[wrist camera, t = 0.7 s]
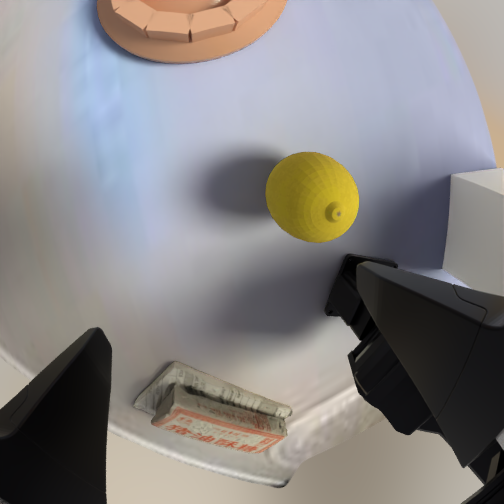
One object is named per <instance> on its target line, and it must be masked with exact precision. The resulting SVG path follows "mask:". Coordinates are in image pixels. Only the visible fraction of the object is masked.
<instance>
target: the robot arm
mask: <svg viewBox="0 0 504 504" xmlns="http://www.w3.org/2000/svg"><path fill="white" fill-rule="evenodd" d="M351 258H352V259H351ZM350 259H351V261H349V260H350ZM397 268H398V265H397V263H395V262H394V261H388V260H383V259H377V258H371V257H365V256H360V255H354V254H348V255H347V256H346V257H345V259H344V262H343V264H342V267H341V270H340V272H339V275H338V277H337V279H336V281H335V284H334V286H333V289H332V291H331V294H330V296H329V300H328V302H327V305H326V307H325V310H324V312H325V314H326V315H327V316H339V317H341V318H342V319H343V321H344V322H345V324H346V325H347V326H350V327H351V329H352V330H353V332H354V333H355V335H356V336H357V337H358V339H359V340H360V341H361V342H360V343H359V345H358V346H357V347H356V348H355V349H354V350H353V351H351V352H350V353H349V354H348V359H349V363H350V366H351V370H352V373H353V377H354V380H355V384H356V387H357V390H358V393H359V394H360V395H361V396H362V397H363V398H364V400H365V401H367V402H368V403H369V404H371V405H372V406H374V407H375V408H378V409H379V410H380V411H381V412H382V413H383V414H384V416H385V417H386V418H387V419H388V420H389V422H390V423H391V425H392V426H393V427H394V429H395V430H396V431H398V432H400V433H403V434H405V435H411V434H412V433H413V432H414V431H415V430H420V431H425V432H430V433H435V434H439V435H440V436H441V437H442V438H443V439H444V440H445V441H446V442H447V443H448V444H449V445H450V446H451V447H452V449H453V451H454V453H455V455H456V456H457V459H458V461H459V462H460V464H461V466H462V467H463V468H465V467H466V466H468V467H469V468H470V469H471V470H472V471H473V472H474V474H475V475H476V476H477V477H478V478H479V479H480V481H481V482H482V483H483V484H484V486H483V487H482V488H481V489H479V490H478V491H477V492H475V493H474V494H473V495H472V496H470V497H469V498H468V499H466V500H465V501H463V502H462V503H461V504H504V296H500V295H495V294H490V293H486V292H482V291H477V290H473V289H469V288H465V287H462V286H458V285H455V284H453V285H452V284H451V283H447V282H444V281H440V280H437V279H433V278H429V277H426V276H422V275H418V274H415V273H411V272H407V271H404V270H400V269H397ZM329 310H331V311H329ZM328 311H329V312H328ZM111 369H112V347H111V344H110V343H109V341H108V339H107V338H106V336H105V334H104V332H103V331H102V329H101V328H99V327H96V328H90V329H88V330H87V331H86V332H85V333H84V334H83V335H82V336H80V337H79V338H78V339H77V340H76V341H75V342H74V343H72V344H71V345H70V346H69V347H68V348H67V349H66V350H65V351H63V352H62V353H61V354H60V355H59V356H58V357H57V358H56V359H55V360H53V361H52V362H51V363H50V364H49V365H48V366H47V367H46V368H45V369H44V370H43V371H41V372H40V373H39V374H38V375H37V376H36V377H35V378H34V379H33V380H32V381H31V382H30V383H29V385H26V386H25V388H23V389H22V390H21V391H20V392H19V393H18V394H17V395H16V396H15V397H14V398H13V399H11V400H10V401H9V402H8V403H7V404H6V405H5V406H4V407H2V408H1V409H0V504H107V499H106V445H107V427H108V414H109V403H110V393H111Z"/></svg>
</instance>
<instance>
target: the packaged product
mask: <svg viewBox="0 0 504 504" xmlns="http://www.w3.org/2000/svg"><path fill="white" fill-rule="evenodd" d="M134 407H135V408H138V409H141V410H144V411H146V412H147V413H149V414H153V415H155V416H154V417H153V419H152V420H151V424H152V425H154V426H156V427H158V428H161V429H164V430H167V431H169V432H172V433H176V434H179V435H182V436H186V437H188V438H191V439H195V440H199V441H202V442H205V443H209V444H213V445H216V446H220V447H225V448H229V449H234V450H237V451H242V452H246V453H261V452H263V451H264V450H266V449H268V448H269V447H271V446H273V445H275V444H277V443H278V442H279V441H281V440H283V439H284V438H285V437H286V436H288V435H287V429H286V427H285V421H284V419H285V418H287V417H288V416H291V415H292V409H291V407H290V406H287V405H284V404H281V403H278V402H275V401H272V400H270V399H267V398H265V397H262V396H260V395H257V394H254V393H252V392H249V391H247V390H244V389H242V388H240V387H237V386H235V385H232V384H230V383H227V382H225V381H222V380H220V379H218V378H215V377H213V376H210V375H208V374H205V373H203V372H200V371H198V370H196V369H193V368H191V367H189V366H187V365H184V364H182V363H179V362H177V361H174V362H173V363H172V364H171V365H170V366H169V367H168V368H167V369H166V370H165V371H164V372H163V373H162V374H161V375H160V376H159V377H158V378H157V379H156V380H155V381H154V382H153V383H152V384H151V385H150V386H148V387H147V388H146V389H145V390H144V391H143V392H142V393H141V394H140V395H139V397H138V398H137V400H136V401H135V403H134Z"/></svg>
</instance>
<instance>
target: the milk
mask: <svg viewBox="0 0 504 504" xmlns="http://www.w3.org/2000/svg"><path fill="white" fill-rule="evenodd" d="M442 269H443V270H444V271H446V272H447V273H449V274H451V275H452V276H454V277H455V278H457V279H458V280H460V281H461V282H463V283H464V284H466V285H467V286H469V287H470V288H472V289H473V290H477V291H482V292H486V293H490V294H495V295H500V296H504V169H503V168H495V169H487V170H479V171H471V172H464V173H457V174H451V187H450V207H449V219H448V230H447V238H446V246H445V253H444V260H443V266H442Z"/></svg>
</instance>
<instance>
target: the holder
mask: <svg viewBox="0 0 504 504" xmlns="http://www.w3.org/2000/svg"><path fill="white" fill-rule="evenodd" d="M286 2H287V0H97V12H98V17H99V20H100V23H101V25H102V27H103V28H104V30H105V32H106V33H107V34H108V35H109V36H110V37H111V39H112V40H113V41H114V42H116V43H117V44H118V45H119V46H120V47H122V48H123V49H125V50H126V51H128V52H130V53H131V54H134V55H136V56H138V57H141V58H144V59H147V60H151V61H155V62H162V63H172V64H187V63H198V62H205V61H209V60H214V59H218V58H221V57H224V56H227V55H230V54H233V53H235V52H237V51H239V50H242V49H243V48H245V47H247V46H249V45H251V44H252V43H254V42H255V41H256V40H258V39H259V38H261V37H262V36H263V35H264V34H265V33H266V32H267V31H268V30H269V29H270V28H271V27H272V25H273V24H274V23H275V22H276V21H277V19H278V18H279V17H280V15H281V13H282V12H283V10H284V7H285V5H286Z"/></svg>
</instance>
